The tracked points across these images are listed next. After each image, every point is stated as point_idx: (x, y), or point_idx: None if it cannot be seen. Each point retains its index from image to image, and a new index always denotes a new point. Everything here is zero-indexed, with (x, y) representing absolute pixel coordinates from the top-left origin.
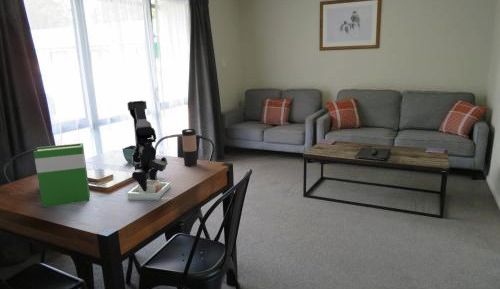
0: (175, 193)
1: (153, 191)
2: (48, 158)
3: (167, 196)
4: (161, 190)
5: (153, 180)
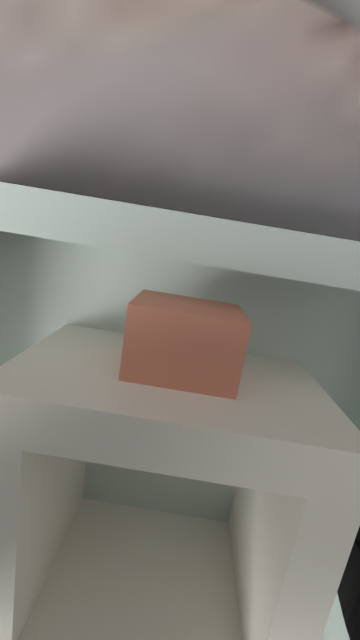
0: (171, 47)
1: (321, 396)
2: None
3: (290, 163)
4: (341, 249)
5: None
